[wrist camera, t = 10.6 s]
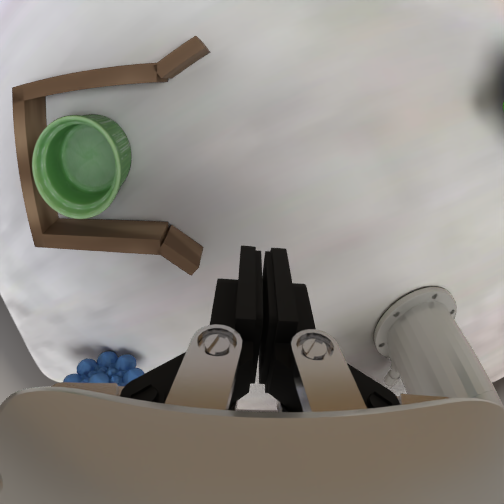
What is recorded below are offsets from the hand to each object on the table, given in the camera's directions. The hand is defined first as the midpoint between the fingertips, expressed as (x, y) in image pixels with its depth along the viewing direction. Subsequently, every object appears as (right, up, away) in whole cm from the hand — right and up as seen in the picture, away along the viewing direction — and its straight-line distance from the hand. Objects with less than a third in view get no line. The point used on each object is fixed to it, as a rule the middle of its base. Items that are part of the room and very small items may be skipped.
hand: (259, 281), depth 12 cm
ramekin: (-15, +10, +13) cm, 22 cm away
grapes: (-20, -14, +28) cm, 37 cm away
